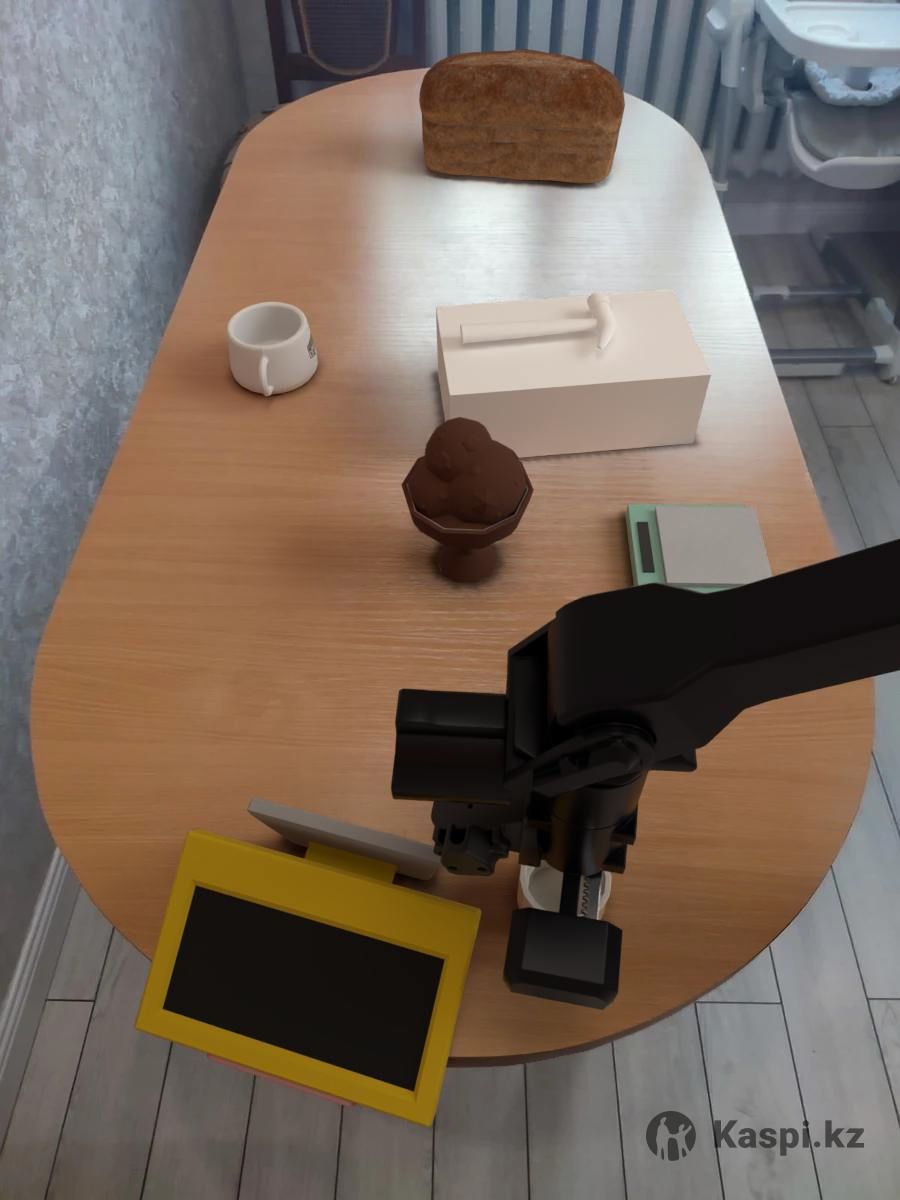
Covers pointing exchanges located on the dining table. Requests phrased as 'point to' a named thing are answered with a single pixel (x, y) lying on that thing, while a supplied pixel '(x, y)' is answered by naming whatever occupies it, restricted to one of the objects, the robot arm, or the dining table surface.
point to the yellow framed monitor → (314, 962)
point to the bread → (521, 116)
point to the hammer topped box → (573, 371)
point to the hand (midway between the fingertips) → (564, 885)
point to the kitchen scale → (696, 546)
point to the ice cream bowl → (466, 496)
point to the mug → (271, 348)
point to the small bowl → (552, 889)
